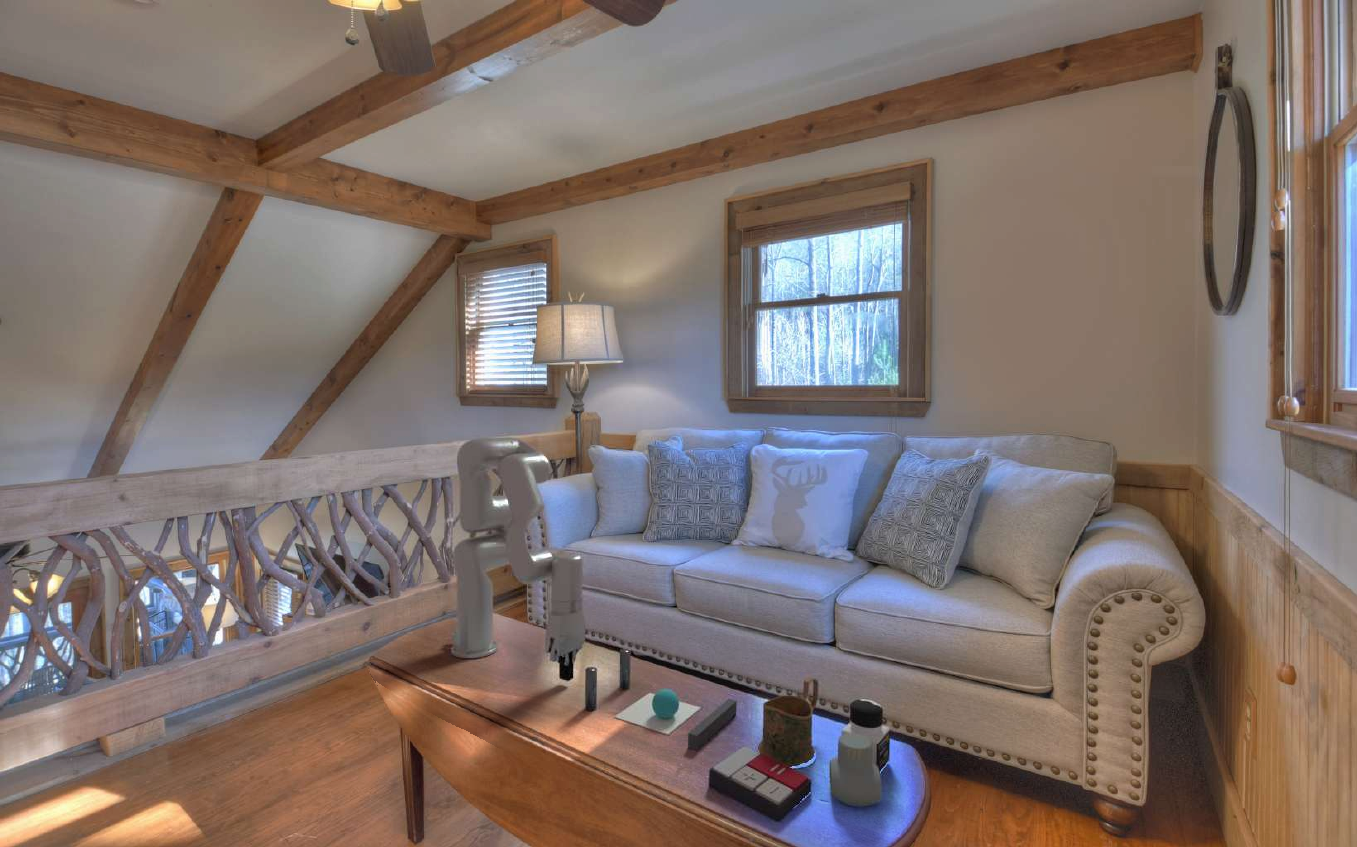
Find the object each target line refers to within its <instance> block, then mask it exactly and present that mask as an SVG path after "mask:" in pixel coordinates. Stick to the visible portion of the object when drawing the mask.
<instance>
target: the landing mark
mask: <svg viewBox="0 0 1357 847" xmlns="http://www.w3.org/2000/svg"><path fill="white" fill-rule="evenodd" d="M655 694H656V693H651V692H649V693H648V694H646V695H644V696H642V697H641V698H640V699H639V700H636V701H635V702H634V703H632V704H631V705H630V706H628V707H627V708H625V709H623V710H622V711H620V712H619V713H618V714H616V715H614V717H613V718H615V719H618V720H621V721H624V722H627V723H629V724H633V725H635V726H639V727H641V728H646V729H648V730H651V731H655V732H657V733H660V734H663V735H667V736H669V735H670V734H671V733H673V731H675V730H676V729H678V728H679V727H681V725H682V724H684V723H685V722H687V720H689V719H690V718H691V717H692V716H694V715H695V714H696V713H697V712H698V711H700V710H701V709H702V707H701V706H696V705H692V704H689V703H687V702H683V701H679V708H678V711H677V712H676V714H675V715H674V716H672V717H670V718H666V719H665V718H661V717H659V716H657V715H656V714H655V712H654V710H653V708H652V700H653V697H654V695H655Z"/></svg>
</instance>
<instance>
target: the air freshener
mask: <svg viewBox="0 0 1357 847" xmlns="http://www.w3.org/2000/svg"><path fill="white" fill-rule="evenodd" d="M837 740H838V741H837V743H838V745H837V756H835V757H832V759H830V760H829V787H830V794H831V795H832V796H833V797H834V798H835V799H837V800H838V801H840V802H842V803H844V804H846V805H849V806H853V807H869V806H871V805H875V804H877V803H879V802H880V801H881V800H882V796H883V795H882V793H883V792H882V780H881V774H880V772H879V768H878V766H877V765H876V764H875V763H873V762H872V750H873V745H872V742H871V741H870V740H869V739H868V738H867V737H865V736H863V735H860V734H856V733H847V734H843V735H842V736H841V735H840V736H839V737H838V739H837Z"/></svg>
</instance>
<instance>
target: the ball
mask: <svg viewBox="0 0 1357 847" xmlns="http://www.w3.org/2000/svg"><path fill="white" fill-rule="evenodd" d="M654 694H655V695H654V697H653V700H652V708H653V710H654V712H655V714H656V715H657V716H659V717H661V718H665V719H666V718H670V717H672V716H674V715H675V714H676V712H677V711H678V708H679V702H680V699H679V697H678V695H677V693H676V692H674V690H672V689H669V688H663V689H660V690H658V691H657V692H655V693H654Z"/></svg>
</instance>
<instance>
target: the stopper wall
mask: <svg viewBox="0 0 1357 847" xmlns="http://www.w3.org/2000/svg"><path fill="white" fill-rule="evenodd" d="M737 702H738V701H737V700H734V699H730V698H728V699H726V700H725V701H724V702H723V703H722V704H720V705H719V706H718V707H717V708H716V709H715V710H713V711H712V712H711V713H709V715H707V717H705V718H704V719H703V720H701V722H700V723H698V724H697V725H696V726H695V727H693V728H692V729H691V730H690V731H689V732H687V733H688V734H687V736H688V737H687V738H688V739H687V748H688V749H690V750H694V751H698V750H699V749H700V748H701V747H703V745H704V744H706V742H708V741H709V740H710V739H711V738H712V737H713V736H714V735H716V734H717V733H718V732H719V731H720V730H721V729H722V728H723V727H724V726H725V725H726V724H728V722H729V721H731V720H732V719H733V718H734V717H735V716H736V715H737ZM734 715H735V716H734ZM733 716H734V717H733ZM732 717H733V718H732ZM731 718H732V719H731ZM730 719H731V720H730ZM728 720H729V721H728ZM723 725H724V726H723ZM722 726H723V727H722ZM721 727H722V728H721ZM719 729H720V730H719ZM718 730H719V731H718Z"/></svg>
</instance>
